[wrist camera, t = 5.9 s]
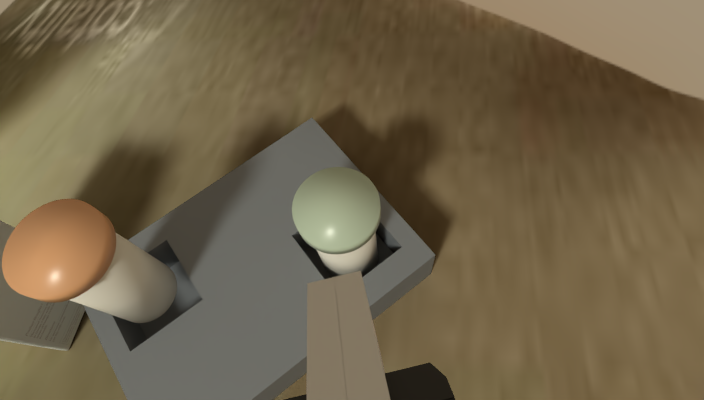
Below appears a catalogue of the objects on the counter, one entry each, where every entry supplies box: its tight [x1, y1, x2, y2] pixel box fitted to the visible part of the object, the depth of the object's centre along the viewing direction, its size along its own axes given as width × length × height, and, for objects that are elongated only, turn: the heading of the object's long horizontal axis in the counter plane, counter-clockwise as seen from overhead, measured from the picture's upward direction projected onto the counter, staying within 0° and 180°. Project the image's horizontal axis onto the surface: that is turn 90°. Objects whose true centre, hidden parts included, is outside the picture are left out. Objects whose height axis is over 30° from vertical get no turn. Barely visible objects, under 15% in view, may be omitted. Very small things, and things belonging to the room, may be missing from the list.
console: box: [83, 118, 435, 400], centre depth 37 cm, size 16×23×5 cm
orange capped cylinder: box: [2, 199, 177, 323], centre depth 29 cm, size 6×6×10 cm
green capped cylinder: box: [292, 167, 381, 277], centre depth 33 cm, size 6×6×10 cm
